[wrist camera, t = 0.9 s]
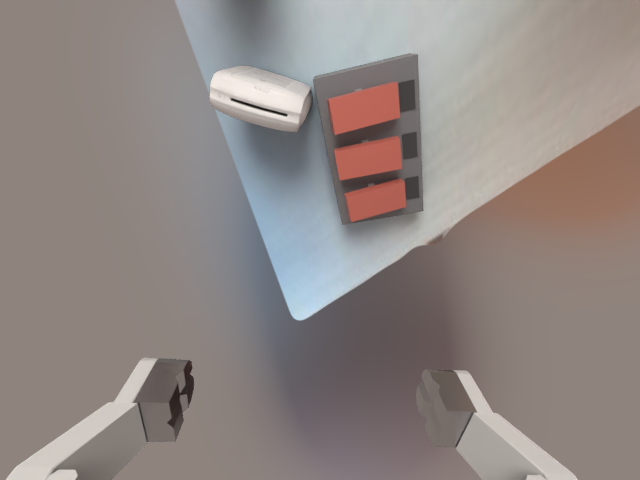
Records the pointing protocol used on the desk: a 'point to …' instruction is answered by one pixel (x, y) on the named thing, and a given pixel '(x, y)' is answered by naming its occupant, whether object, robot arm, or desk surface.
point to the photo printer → (261, 97)
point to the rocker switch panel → (377, 128)
